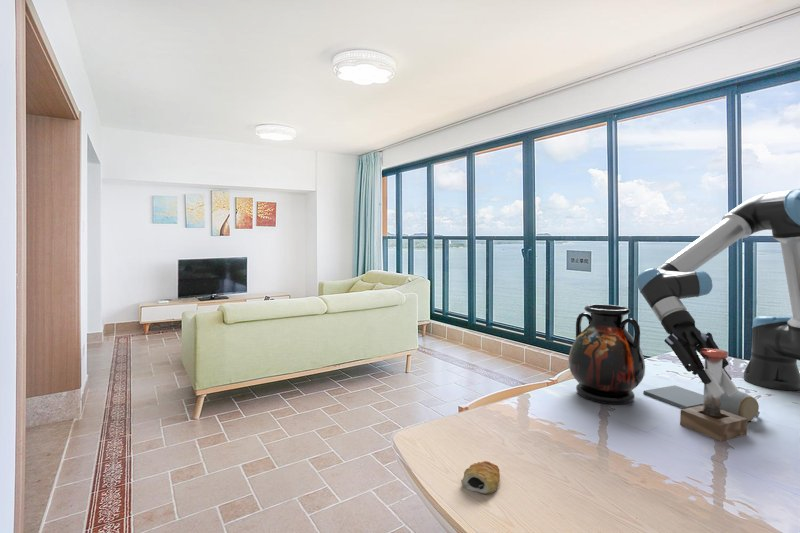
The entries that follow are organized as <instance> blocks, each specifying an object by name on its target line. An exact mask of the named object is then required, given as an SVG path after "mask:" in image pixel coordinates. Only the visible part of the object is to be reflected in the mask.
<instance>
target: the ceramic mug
mask: <svg viewBox="0 0 800 533" xmlns="http://www.w3.org/2000/svg"><path fill="white" fill-rule="evenodd" d="M722 390H723V391H724V394H722V395H721V410H724V411H726V412H729V413H732V414H735V415H738V416H741V417H743V418H746V419H748V420H747V422H750V421H753V420H754V419H755V418H756V417H759V416H760V414H761V412H760V411H759V409H760V408H759V406H760V405H759V403H758V401H757V399H755V397H753V396H752V395H750V394H748V393H746V392H743V391H740V390H738V391H739V392H738V393H736V394H734V395H733V396H730V397H729V396H728V395H727V393H726V392H725V390H724V389H723V387H722Z"/></svg>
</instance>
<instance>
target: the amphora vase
mask: <svg viewBox="0 0 800 533" xmlns="http://www.w3.org/2000/svg"><path fill="white" fill-rule="evenodd" d="M584 310H585V312H581V313H579V314H578V316H577V318H576V322H575V339H574V341H573V343H572V345H571V347H570V350H569V352H568V353H569V354H568V361H567V362H568V368H569V372H570V373H571V375H572V376H573V378H574V379H575V381H576V382H577V385H576V387H575V390H576V392H577V393H578V395H580V396H581V397H583V398H585V399H587V400H590V401H593V402H596V403H601V404H609V405H622V404H628V403H630V402H632V401H633V400H634V399H635V393H634V391H633V390H634V389H636V388H637V387H638V386H639V385H640V384H641V383H642V381H643V379H644V378H645V376H646V374H645V373H646V365H645V364H646V363H645V358H644V354H643V351H642V349H641V347H640V346H641V326H640V325H639V322H638V321H637V320H636V319H634V318H629V317H628V318H626V319H624V316H627V315H629V314H631V309H630V308H628V307H626V306H621V305H614V304H587V305H586V306H584ZM584 317H585V318H586V320H588V326H586V327H585V328H584V329H583V330H582V320H583V318H584ZM628 323H629V324H631V325H632V327H633V329H634V336H632V335H631V333H629V331H628V329H626V326H627V324H628Z"/></svg>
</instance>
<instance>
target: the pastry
mask: <svg viewBox="0 0 800 533" xmlns="http://www.w3.org/2000/svg"><path fill="white" fill-rule="evenodd" d="M463 473H464V474H463V477H462V479H461V483H460V484H461V485H462V486H463V488H464V489H466V490H467V491H471V492H475V493H476V492H477V493H480V494H484V495H487V494H489V493H490V494H492V493H493V494H494V493H495V492H496V490H497V488H498V486H499V483H500V480H501V475H500V474H501V473H500V469H499V466H498V465H497V464H494V463H492V462H490V461H488V460H487V461H486V460H484V461H480V462H477V463H472V464H470V466H469V467H468V468H466V469H465V471H464V472H463Z"/></svg>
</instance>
